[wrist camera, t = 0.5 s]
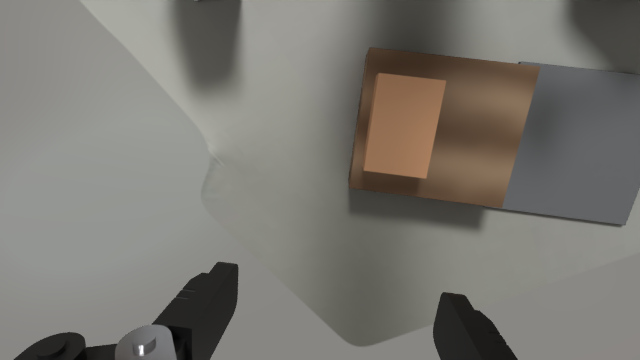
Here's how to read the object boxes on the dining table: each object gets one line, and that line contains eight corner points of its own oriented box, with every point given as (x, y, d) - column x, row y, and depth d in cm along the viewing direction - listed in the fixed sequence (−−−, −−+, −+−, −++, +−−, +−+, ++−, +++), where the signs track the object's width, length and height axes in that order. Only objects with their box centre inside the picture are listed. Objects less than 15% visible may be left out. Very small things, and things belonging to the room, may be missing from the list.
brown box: (366, 55, 32) (369, 47, 28) (516, 72, 32) (540, 66, 28) (348, 179, 36) (349, 187, 32) (484, 197, 35) (501, 208, 31)
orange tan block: (375, 76, 29) (378, 72, 27) (437, 83, 29) (446, 80, 26) (362, 166, 31) (363, 170, 29) (419, 173, 31) (426, 178, 28)
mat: (518, 62, 31) (520, 61, 31) (676, 79, 31) (680, 79, 30) (481, 205, 35) (483, 206, 35) (622, 223, 34) (625, 225, 34)
